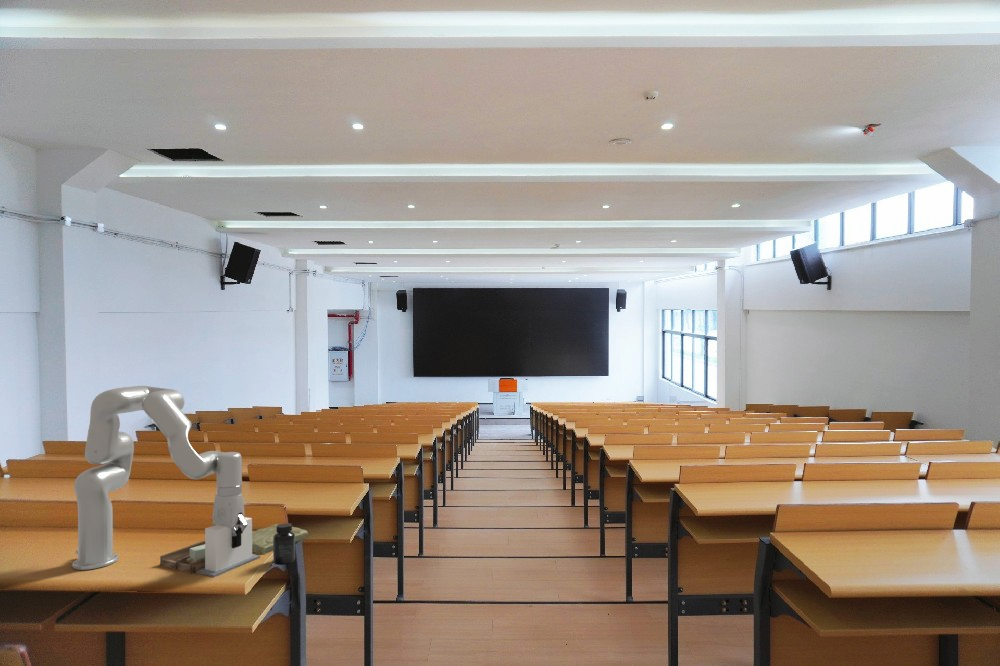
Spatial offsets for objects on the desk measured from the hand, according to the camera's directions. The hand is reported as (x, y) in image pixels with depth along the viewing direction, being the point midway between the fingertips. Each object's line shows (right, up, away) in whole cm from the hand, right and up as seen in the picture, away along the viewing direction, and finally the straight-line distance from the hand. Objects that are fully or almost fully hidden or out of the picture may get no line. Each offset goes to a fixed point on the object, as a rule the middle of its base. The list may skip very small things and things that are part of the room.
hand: (229, 544), depth 193 cm
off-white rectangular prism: (0, -6, 0) cm, 6 cm away
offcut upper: (-8, -4, +2) cm, 9 cm away
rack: (-12, -7, +5) cm, 14 cm away
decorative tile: (+4, -7, +22) cm, 24 cm away
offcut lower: (-9, -7, +3) cm, 12 cm away
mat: (0, -7, 0) cm, 7 cm away
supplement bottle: (+17, -7, +3) cm, 18 cm away
